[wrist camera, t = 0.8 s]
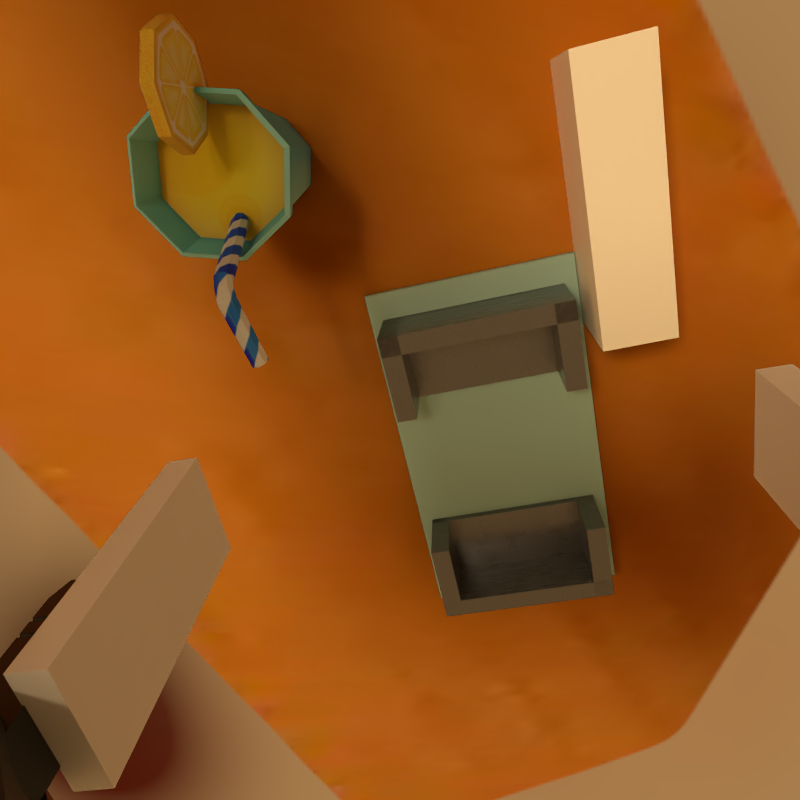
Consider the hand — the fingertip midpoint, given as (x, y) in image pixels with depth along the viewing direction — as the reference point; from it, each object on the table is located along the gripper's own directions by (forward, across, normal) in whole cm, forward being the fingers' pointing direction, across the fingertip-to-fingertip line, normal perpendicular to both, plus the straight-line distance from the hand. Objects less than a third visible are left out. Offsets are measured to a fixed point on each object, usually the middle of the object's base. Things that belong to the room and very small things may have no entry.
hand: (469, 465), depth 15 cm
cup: (+27, -10, +6) cm, 29 cm away
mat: (+26, +1, -14) cm, 29 cm away
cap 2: (+26, +1, -21) cm, 33 cm away
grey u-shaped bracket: (+26, +1, -6) cm, 27 cm away
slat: (+27, +9, +2) cm, 28 cm away
